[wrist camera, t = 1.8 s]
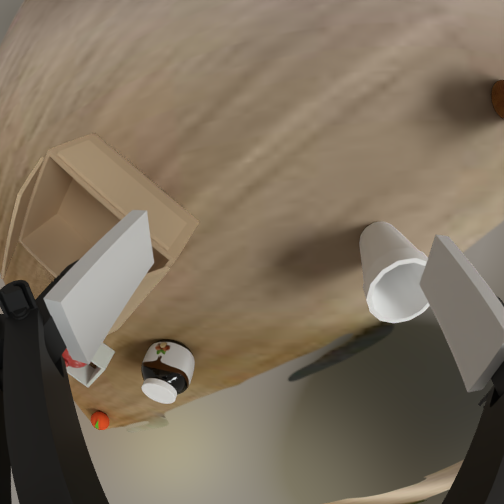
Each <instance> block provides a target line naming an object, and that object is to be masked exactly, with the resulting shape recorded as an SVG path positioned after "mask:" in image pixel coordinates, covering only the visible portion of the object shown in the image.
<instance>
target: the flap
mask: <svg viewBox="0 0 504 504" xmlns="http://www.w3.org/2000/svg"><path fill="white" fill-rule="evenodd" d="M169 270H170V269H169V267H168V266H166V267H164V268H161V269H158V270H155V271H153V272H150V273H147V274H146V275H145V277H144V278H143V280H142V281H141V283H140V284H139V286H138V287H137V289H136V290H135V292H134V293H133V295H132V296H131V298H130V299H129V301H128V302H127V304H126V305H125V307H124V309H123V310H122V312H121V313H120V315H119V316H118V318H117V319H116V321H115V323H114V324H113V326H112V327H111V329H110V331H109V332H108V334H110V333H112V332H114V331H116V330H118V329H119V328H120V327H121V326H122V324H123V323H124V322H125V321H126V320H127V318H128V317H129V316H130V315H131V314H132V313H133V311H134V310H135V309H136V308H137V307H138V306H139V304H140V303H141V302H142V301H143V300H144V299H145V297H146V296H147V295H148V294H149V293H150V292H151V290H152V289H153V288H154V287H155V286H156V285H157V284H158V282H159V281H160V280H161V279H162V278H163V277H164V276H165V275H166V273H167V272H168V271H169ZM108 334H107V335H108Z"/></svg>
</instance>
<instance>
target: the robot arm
mask: <svg viewBox="0 0 504 504" xmlns="http://www.w3.org/2000/svg"><path fill="white" fill-rule="evenodd" d="M153 264H154V258H153V252H152V245H151V238H150V230H149V223H148V215H147V210H132V211H131V212H129V213H128V214H127V215H126V216H125V217H124V218H123V219H122V220H121V221H119V222H118V223H117V224H116V225H115V226H114V227H113V228H112V229H111V230H110V231H109V232H108V233H106V234H105V235H104V236H103V237H102V238H101V239H100V240H99V241H98V242H97V243H96V244H95V245H94V246H93V247H92V248H91V249H90V250H89V251H88V252H87V253H86V254H85V255H84V256H83V257H82V258H81V259H80V260H77V261H75V262H73V263H72V264H70V265H68V266H67V267H66V268H65V269H64V270H63V271H62V272H61V273H60V275H58V276H57V277H56V278H55V279H54V282H53V281H52V282H51V283H50V285H49V286H48V287H47V288H46V289H45V290H44V291H43V292H42V293H41V294H40V295H39V296H38V298H37V299H36V300H35V299H34V296H33V294H32V292H31V289H30V287H29V284H28V283H27V282H26V281H24V280H17V281H13V282H11V283H9V284H7V285H5V286H4V287H3V288H2V289H1V290H0V307H1V309H2V311H3V313H4V314H0V504H11V468H12V474H13V478H14V483H15V487H16V491H17V495H18V499H19V503H20V504H109V502H108V500H107V498H106V496H105V493H104V491H103V489H102V486H101V484H100V482H99V479H98V477H97V474H96V471H95V469H94V466H93V463H92V461H91V458H90V455H89V452H88V449H87V446H86V443H85V440H84V437H83V434H82V431H81V427H80V424H79V420H78V416H77V413H76V409H75V405H74V401H73V397H72V393H71V388H70V384H69V379H68V374H67V369H66V364H65V360H64V358H63V356H62V354H63V352H64V351H65V349H66V348H67V350H68V352H69V354H70V356H71V358H72V359H73V360H76V361H79V362H82V363H85V364H90V362H91V360H92V359H93V357H94V355H95V354H96V352H97V350H98V349H99V347H100V345H101V344H102V342H103V340H104V339H105V337H106V336H107V334H108V332H109V331H110V329H111V327H112V326H113V324H114V323H115V321H116V319H117V318H118V316H119V315H120V313H121V312H122V310H123V309H124V307H125V305H126V304H127V302H128V301H129V299H130V298H131V296H132V295H133V293H134V292H135V290H136V289H137V287H138V286H139V284H140V283H141V281H142V280H143V278H144V277H145V275H146V274H147V272H148V271H149V269H150V268H151V267H152V265H153ZM419 285H420V287H421V289H422V291H423V293H424V295H425V297H426V298H427V300H428V302H429V304H430V306H431V308H432V310H433V312H434V314H435V317H436V319H437V321H438V323H439V325H440V327H441V329H442V331H443V333H444V336H445V338H446V340H447V342H448V344H449V347H450V349H451V351H452V354H453V356H454V358H455V361H456V363H457V366H458V368H459V371H460V373H461V376H462V378H463V381H464V384H465V386H466V389H467V392H472V391H477V390H482V389H483V388H484V387H485V386H486V384H487V383H488V382H489V381H490V379H492V382H493V384H494V386H493V387H492V388H491V389H490V391H489V392H488V393H487V394H486V395H485V397H484V398H483V399H482V400H481V401H480V403H479V405H480V406H481V404H482V403H483V402H485V401H486V403H485V406H484V410H483V413H482V416H481V418H480V421H479V424H478V427H477V430H476V433H475V435H474V438H473V440H472V443H471V445H470V448H469V450H468V452H467V454H466V457H465V459H464V461H463V463H462V466H461V468H460V470H459V472H458V474H457V476H456V478H455V480H454V482H453V484H452V486H451V488H450V490H449V492H448V494H447V495H446V498H445V499H444V501H443V503H442V504H504V303H503V302H502V300H501V299H500V298H498V297H497V296H496V295H495V294H494V293H493V291H492V290H491V288H490V287H489V286H488V285H487V283H486V282H485V281H484V279H483V278H482V276H481V275H480V274H479V272H478V271H477V270H476V269H475V267H474V266H473V265H472V264H471V262H470V261H469V260H468V259H467V257H466V256H465V255H464V254H463V253H462V251H461V250H460V249H459V248H458V247H457V246H456V244H455V243H454V242H453V241H452V240H451V239H450V237H449V236H443V235H435V238H434V241H433V245H432V248H431V251H430V254H429V257H428V260H427V263H426V266H425V269H424V272H423V274H422V277H421V280H420V283H419Z"/></svg>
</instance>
